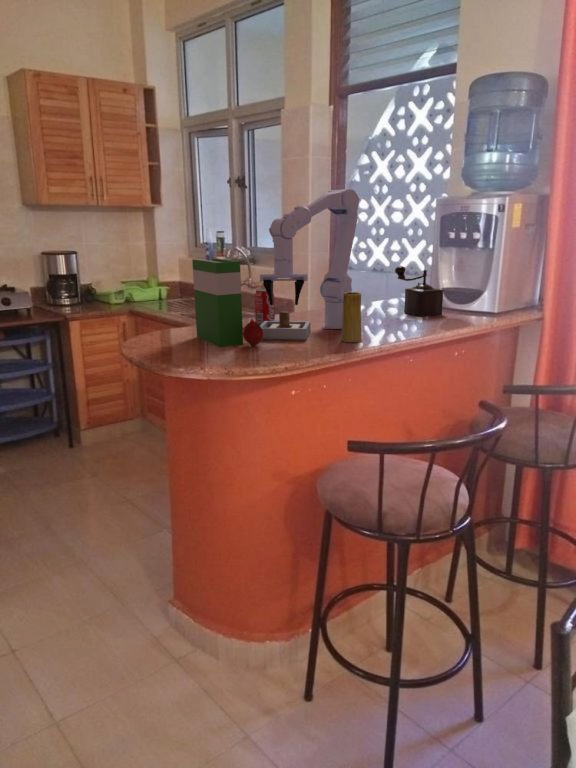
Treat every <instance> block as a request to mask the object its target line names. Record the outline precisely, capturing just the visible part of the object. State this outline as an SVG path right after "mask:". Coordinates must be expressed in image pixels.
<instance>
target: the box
mask: <svg viewBox="0 0 576 768" xmlns="http://www.w3.org/2000/svg"><path fill="white" fill-rule="evenodd" d="M260 327H261V328H262V330H263V338H262V340H261V341H298V342H299V341H301V342H302V341H303V342H304V341H305V340H306V341H308V337H309V336H310V334H311V321H309V320H307V321H306V320H305V321H303V320H293V321H292V320H290V328H279V320H275V321H264V322H263V323H262V324H261V325H260ZM306 341H305V342H306Z"/></svg>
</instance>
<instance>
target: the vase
mask: <svg viewBox="0 0 576 768" xmlns="http://www.w3.org/2000/svg"><path fill="white" fill-rule="evenodd" d="M340 341H341V342H342V341H343V342H342V343H345V342H358V343H361V342H362V341H363V340H362V293H361V292H359V291H357V292H356V291H352V292H345V293H343V317H342V329H341V337H340ZM360 341H361V342H360Z"/></svg>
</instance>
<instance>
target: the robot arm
mask: <svg viewBox="0 0 576 768" xmlns="http://www.w3.org/2000/svg"><path fill="white" fill-rule="evenodd" d="M359 204H360V197H359V196H358V193H357V192H356V190H355V189H353V188H347V189H335V190H334V189H330V190H328V191H326V192H324V193H323V194H322V195H320V197H318V198H316V199H315V200H314V201H313V202H311V203H310V204H308V205H307V206H303V205H296V206H294V207H293V210H291V211H290V212H289V213H284V214H283V215H282V216H283V217H282V218H275V219H273V221H272V223H271V224H270V227H269V228H268V232H269V234H270V236H271V238H272V243H273V271H274V272H273V273H264V274H263V273H260V274H259V281H260V282H263V283H262V285H263V288H264V289H266V291H267V294H268V296H269V300H270V305H273V304H274V299H273V293H274V282H286V281H287V282H291V281H292V282H294V291H295V292H294V305H295V306H298V305H299V299H300V294H301V293H302V289H303V286H304V284H305V282H308V281H309V280H308V279H309V276H308V275H309V274H307V273H294V250H293V249H294V248H293V245H294V242H293V240H294V237H295V236H296V235H297V232H298V231H299V230H302V228H305V226H307V225H309V224H310V223H311V222H312V217H314V216H316V215H318V214H320V213H322V212H323V211H325V210H328V211H330V213H331V214H333V215H334V217H335V218H337V220H338V222H339V225H338V230H337V235H336V239H335V246H334V251H333V255H332V260H331V266H330V270H329V271H327V272H326V274H324V277H323V280H322V282H321V284H320V286H319V293H320V295H321V297H322V298H323V301H324V323H323V326H322V329H325V330H334V329H335V330H336V329H337V330H342V317H343V293H345V292H353V291H352V290H353V289H352V283H353V282H352V281H353V279H352V277H351V276H350V275H349V274H348V270H349V265H350V259H351V255H352V249H353V244H354V239H355V233H356V230H357V223H358V210H359Z"/></svg>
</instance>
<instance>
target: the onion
mask: <svg viewBox="0 0 576 768" xmlns="http://www.w3.org/2000/svg"><path fill="white" fill-rule="evenodd" d="M249 320H250V321H249V322H248V323H247V324H246V325H245V326H244V327H243V340H244V341H246V342H247V343H248V344H249V345H250V346H251V347H256V345H258V344H259V343H260V342H261V341H263V340H262V338H263V330H262V328H261V327H260V325H259V324H258V323H256V322H255V319H254V318H250V319H249Z"/></svg>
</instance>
